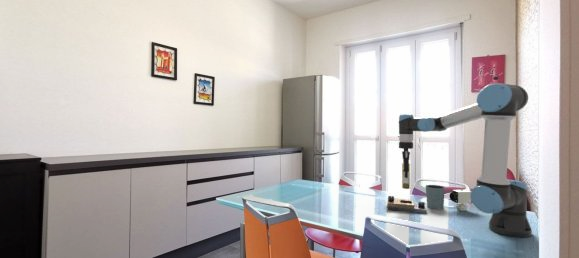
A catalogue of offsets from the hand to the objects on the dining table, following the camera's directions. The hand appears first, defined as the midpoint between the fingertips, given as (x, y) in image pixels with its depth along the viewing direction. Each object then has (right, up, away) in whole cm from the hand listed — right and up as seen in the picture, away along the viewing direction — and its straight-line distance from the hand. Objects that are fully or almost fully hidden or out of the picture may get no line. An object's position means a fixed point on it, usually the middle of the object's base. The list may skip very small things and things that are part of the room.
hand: (405, 182), depth 160 cm
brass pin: (0, -3, 0) cm, 3 cm away
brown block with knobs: (0, -15, 0) cm, 15 cm away
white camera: (+30, -15, -3) cm, 34 cm away
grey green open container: (+19, -15, +4) cm, 24 cm away
